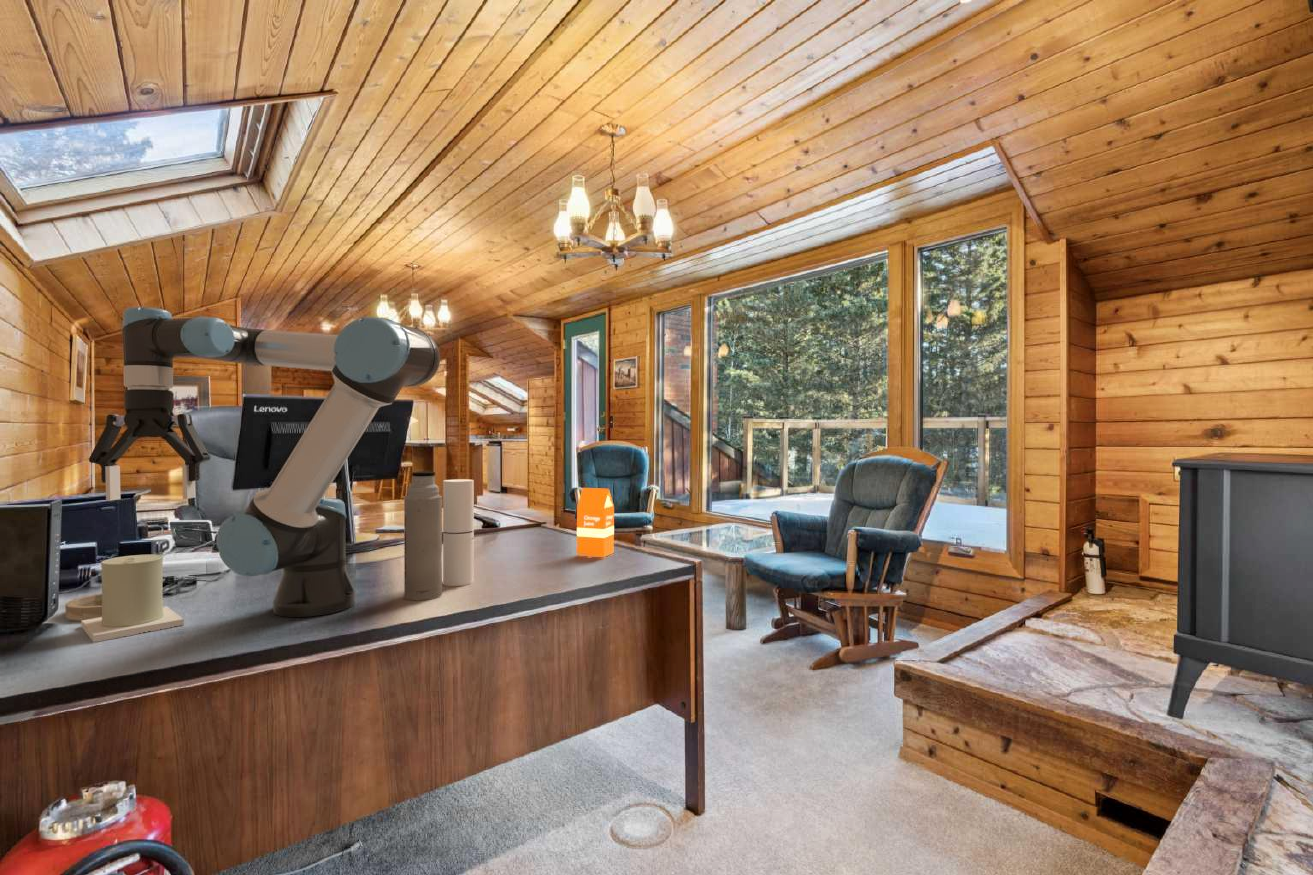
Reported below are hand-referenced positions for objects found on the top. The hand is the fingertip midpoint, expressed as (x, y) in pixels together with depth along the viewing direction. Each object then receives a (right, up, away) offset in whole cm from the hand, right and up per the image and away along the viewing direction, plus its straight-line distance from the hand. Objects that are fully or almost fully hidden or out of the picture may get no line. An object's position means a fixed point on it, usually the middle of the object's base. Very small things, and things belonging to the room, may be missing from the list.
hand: (151, 499), depth 124 cm
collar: (-14, -24, +7) cm, 28 cm away
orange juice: (+80, -23, +67) cm, 107 cm away
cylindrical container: (+49, -24, +33) cm, 64 cm away
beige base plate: (-1, -24, -3) cm, 24 cm away
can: (-1, -23, -3) cm, 23 cm away
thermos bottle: (+45, -24, +20) cm, 55 cm away
